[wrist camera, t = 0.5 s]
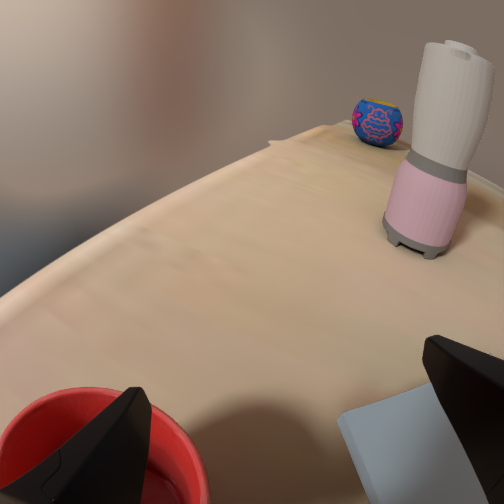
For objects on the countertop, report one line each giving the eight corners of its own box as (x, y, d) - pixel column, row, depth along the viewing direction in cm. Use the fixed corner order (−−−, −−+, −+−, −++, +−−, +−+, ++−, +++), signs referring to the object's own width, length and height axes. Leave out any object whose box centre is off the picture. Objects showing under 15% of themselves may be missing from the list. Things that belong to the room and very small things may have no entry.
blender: (444, 270, 40) (508, 57, 22) (372, 240, 45) (419, 25, 27) (446, 228, 52) (490, 66, 33) (390, 205, 57) (424, 43, 38)
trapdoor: (538, 510, 7) (569, 493, 6) (396, 620, 5) (427, 625, 3) (469, 378, 17) (490, 353, 16) (326, 435, 15) (342, 412, 13)
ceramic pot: (396, 145, 102) (404, 106, 93) (398, 156, 88) (408, 112, 80) (350, 132, 107) (357, 94, 98) (345, 142, 93) (353, 97, 84)
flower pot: (246, 544, 14) (262, 542, 8) (103, 589, 9) (30, 598, 3) (173, 429, 21) (151, 359, 15) (49, 467, 16) (-22, 409, 10)
